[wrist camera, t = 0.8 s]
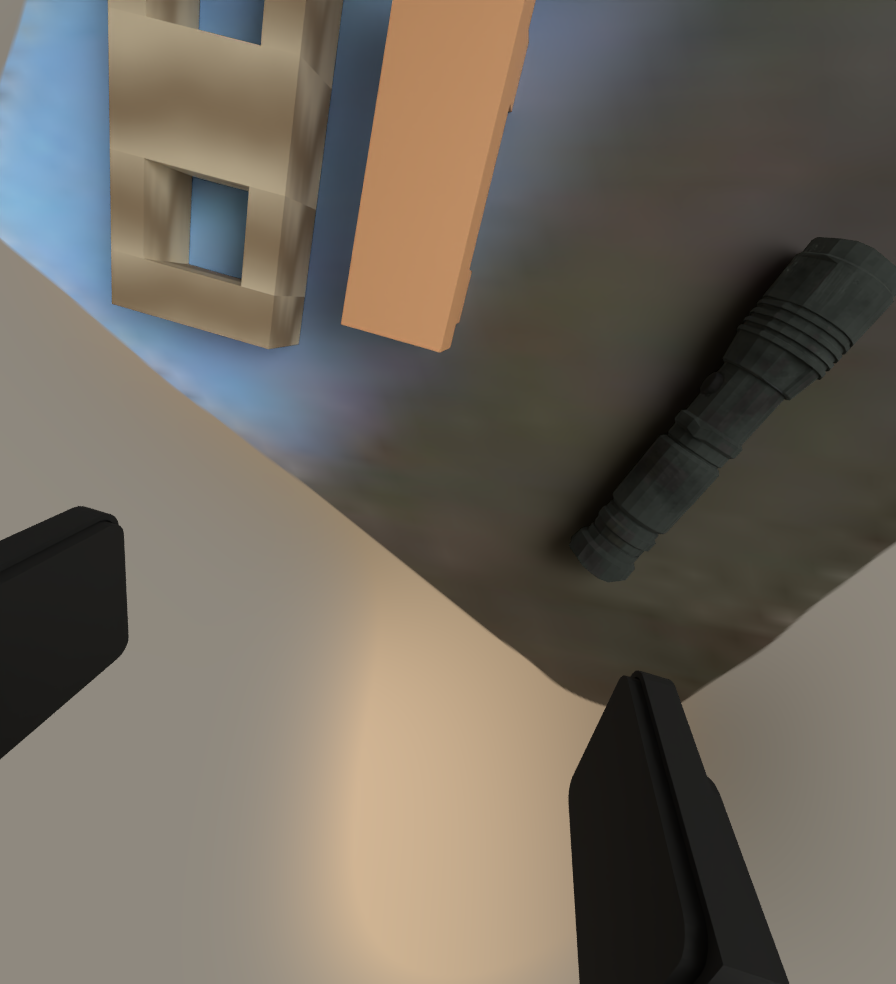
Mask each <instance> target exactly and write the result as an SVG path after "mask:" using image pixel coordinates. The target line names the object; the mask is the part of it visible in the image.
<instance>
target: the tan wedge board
mask: <svg viewBox="0 0 896 984" xmlns="http://www.w3.org/2000/svg"><path fill="white" fill-rule="evenodd" d="M535 1H536V0H393V1H392V7H391V14H390V20H389V26H388V32H387V39H386V45H385V51H384V57H383V64H382V70H381V76H380V83H379V89H378V95H377V101H376V108H375V114H374V120H373V126H372V133H371V139H370V145H369V151H368V158H367V164H366V170H365V176H364V183H363V189H362V195H361V202H360V208H359V214H358V220H357V227H356V233H355V239H354V245H353V252H352V258H351V264H350V270H349V277H348V283H347V289H346V295H345V302H344V308H343V314H342V321H341V324H342V325H345V326H349V327H352V328H356V329H359V330H363V331H366V332H370V333H373V334H377V335H381V336H384V337H388V338H391V339H395V340H398V341H402V342H405V343H409V344H412V345H416V346H419V347H423V348H426V349H430V350H433V351H437V352H442V351H444V350H446V349H448V348H450V346H451V342H452V338H453V334H454V329H455V325H456V323H459V321H460V317H461V313H462V309H463V305H464V301H465V297H466V293H467V289H468V285H469V281H470V277H471V273H472V271H470V270H469V269H470V265H471V260H472V256H473V252H474V248H475V244H476V240H477V236H478V232H479V228H480V224H481V220H482V216H483V212H484V208H485V204H486V200H487V196H488V191H489V187H490V183H491V179H492V175H493V171H494V167H495V163H496V159H497V155H498V151H499V147H500V143H501V139H502V135H503V131H504V127H505V122H506V118H507V114H508V111H509V112H512V108H513V104H514V100H515V95H516V91H517V87H518V83H519V79H520V75H521V71H522V67H523V63H524V59H525V55H526V51H527V47H528V43H529V33H528V29H529V25H530V21H531V17H532V13H533V9H534V5H535Z"/></svg>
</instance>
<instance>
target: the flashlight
mask: <svg viewBox="0 0 896 984" xmlns="http://www.w3.org/2000/svg"><path fill="white" fill-rule="evenodd" d="M895 295H896V266H895V265H893V264H892V263H891V262H890V261H889V260H887V259H886V258H885V257H884V256H883V255H881V254H880V253H879V252H878V251H877V250H875V249H874V248H872V247H870V246H867V245H865V244H863V243H861V242H858V241H853V240H846V239H839V238H823V237H817V238H815V239H813V240H812V241H811V242H810V243H809V244H808V246H807V247H806V248H805V249H804V251H803V252H801V253H799V254H797V255H796V256H795V257H794V259H793V260H792V261H791V262H790V263H789V265H788V266H787V267H786V268H785V270H784V271H783V272H782V273H781V274H780V276H779V277H778V278H777V279H776V281H775V282H774V283H773V284H772V285H771V287H770V288H769V289H768V290H767V292H766V293H765V294H764V295H763V296H762V299H760V300H759V301H758V302H757V307H755V308H753V309H752V310H751V311H750V316H747V317H746V318H745V319H744V320H743V324H742V325H739V326H738V328H737V329H736V330H737V334H736V336H735V337H734V339H733V341H732V343H731V344H730V346H729V348H728V350H727V351H726V353H725V355H724V357H723V361H724V362H725V363H724V364H723V366H722V367H721V368H720V369H719V370H718V372H714V373H712V374H710V375H709V376H708V377H707V378H706V379H705V380H704V382H703V383H702V385H701V387H700V391H701V392H700V393H699V395H698V396H697V397H696V398H695V399H694V401H693V402H692V403H691V404H690V405H689V407H688V408H687V409H684V410H681V411H680V412H679V413H678V414H677V416H676V417H675V424H674V425H673V426H672V427H671V428H670V430H669V431H668V433H669V434H668V435H667V434H664V435H660V436H659V437H658V438H657V439H656V441H655V442H654V443H653V444H652V446H651V447H650V448H649V449H648V450H647V452H646V453H645V454H644V455H643V457H642V458H641V459H640V460H639V461H638V463H637V464H636V465H635V466H634V467H633V469H632V470H631V471H630V472H629V474H628V475H627V476H626V477H625V478H624V480H623V481H622V482H621V483H620V485H619V486H618V487H617V488H616V489H615V491H614V492H613V499H614V500H611V501H610V502H609V503H608V505H605V506H603V507H602V509H601V510H600V511H599V513H598V514H599V515H598V517H597V518H596V519H595V521H594V522H593V523H592V524H591V525H590V526H589V527H583V528H581V529H580V530H579V531H578V532H577V533H575V534H574V535H573V536H572V537H571V542H570V544H569V547H570V548H571V549H572V551H573V552H574V554H575V555H576V556H577V558H578V559H579V561H580V563H581V564H582V566H584V567H585V568H586V569H587V570H588V571H589V572H590V573H592V574H593V575H595V576H596V577H597V578H599V579H601V580H604V581H606V582H614V581H622V580H626V579H627V578H628V576H629V575H630V574H631V573H632V572H633V570H634V569H635V568H634V562H635V561H636V559H637V558H638V557H639V556H640V555H641V554H642V553H643V552H644V551H649V550H650V549H651V548H652V547H653V546H654V544H655V539H656V538H657V537H658V534H664V533H666V532H667V531H668V530H669V529H670V528H671V527H672V526H673V525H674V524H675V523H676V522H677V520H678V519H679V518H680V517H681V516H682V515H683V514H684V513H685V512H686V511H687V510H688V509H689V508H690V507H691V506H692V505H693V504H694V503H695V501H696V500H697V499H698V498H699V497H700V496H701V495H702V494H703V493H704V492H705V490H706V489H707V488H708V487H709V486H710V485H711V484H712V483H713V482H714V481H715V479H716V478H717V477H718V476H719V471H718V469H717V468H721V467H722V466H723V465H724V464H725V463H726V462H727V461H728V460H729V459H734V458H735V457H736V456H737V455H738V454H739V453H740V452H741V451H742V447H741V445H742V444H743V443H744V442H745V441H746V440H747V439H748V438H749V437H750V436H751V435H752V433H753V432H754V431H755V430H756V429H757V428H758V427H759V426H760V425H761V424H762V423H763V422H764V420H765V419H766V418H767V417H768V416H769V415H770V414H771V413H772V412H773V411H774V410H775V409H776V407H777V406H778V405H779V404H780V403H781V402H782V401H783V400H784V399H785V400H791V399H792V398H793V397H795V396H796V395H797V394H798V393H800V392H801V391H802V390H804V389H805V388H806V387H807V386H809V385H810V384H811V383H813V382H814V381H815V380H816V379H819V380H821V378H822V377H823V376H824V375H825V374H826V373H825V371H829V370H830V369H831V368H832V367H833V366H834V364H833V363H837V362H838V361H839V360H840V359H841V358H842V355H841V354H846V352H847V351H848V350H849V349H850V348H851V347H852V346H853V345H854V344H855V343H856V342H857V340H858V339H859V338H860V337H861V336H862V335H863V334H864V333H865V332H866V331H867V330H868V329H869V328H870V327H871V325H872V324H873V323H874V322H875V321H876V320H877V319H878V318H879V317H880V316H881V315H882V314H883V313H884V312H885V310H886V309H887V308H888V307H889V306H890V305H891V304H892V303H893V298H894V297H895Z"/></svg>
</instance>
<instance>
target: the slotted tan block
mask: <svg viewBox="0 0 896 984" xmlns="http://www.w3.org/2000/svg"><path fill="white" fill-rule="evenodd" d="M342 6H343V0H265V1H264V13H263V25H262V37H261V45H257V44H253V43H249V42H245V41H241V40H237V39H233V38H229V37H225V36H222V35H218V34H214V33H210V32H206V31H202V30H199V9H200V0H108V41H109V118H110V195H111V272H112V304H114V305H118V306H121V307H125V308H128V309H132V310H135V311H139V312H142V313H146V314H149V315H152V316H156V317H159V318H163V319H166V320H170V321H173V322H177V323H180V324H183V325H187V326H190V327H194V328H197V329H201V330H204V331H208V332H211V333H215V334H218V335H221V336H225V337H228V338H232V339H235V340H239V341H242V342H246V343H249V344H253V345H256V346H259V347H263V348H266V349H272V348H279V347H285V346H291V345H297V344H299V338H300V330H301V322H302V314H303V307H304V299H305V291H306V284H307V276H308V268H309V260H310V253H311V245H312V237H313V230H314V222H315V214H316V207H317V199H318V191H319V183H320V176H321V168H322V160H323V153H324V145H325V137H326V129H327V122H328V114H329V106H330V99H331V91H332V83H333V75H334V68H335V60H336V52H337V45H338V37H339V29H340V21H341V14H342ZM192 176H193V177H196V178H200V179H204V180H207V181H211V182H215V183H219V184H222V185H226V186H230V187H233V188H237V189H241V190H244V191H248V192H249V196H248V208H247V220H246V232H245V245H244V257H243V269H242V279H239V278H236V277H232V276H229V275H225V274H222V273H218V272H215V271H211V270H207V269H204V268H200V267H197V266H193V265H190V264H189V243H190V219H191V196H192Z"/></svg>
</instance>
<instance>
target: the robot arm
mask: <svg viewBox="0 0 896 984" xmlns="http://www.w3.org/2000/svg"><path fill="white" fill-rule="evenodd" d="M127 643H128V616H127V595H126V572H125V551H124V533H123V529H122V528H121V526H119V525H118V521H117V519H116V518H115V517H114V516H113V515H111V514H108V513H104V512H101V511H97V510H94V509H91V508H87V507H83V506H82V507H81V506H78V507H74V508H72V509H69V510H67V511H65V512H63V513H60V514H59V515H56V516H54V517H52V518H49V519H47V520H45V521H43V522H41V523H38V524H36V525H34V526H32V527H29V528H27V529H25V530H23V531H21V532H18V533H16V534H14V535H12V536H10V537H7V538H5V539H3V540H1V541H0V759H1V758H2V757H3V756H4V755H6V754H7V753H8V752H9V751H10V750H12V749H13V748H14V747H15V746H16V745H17V744H18V743H20V742H21V741H22V740H23V739H24V738H25V737H27V736H28V735H29V734H30V733H31V732H33V731H34V730H35V729H36V728H37V727H38V726H39V725H41V724H42V723H43V722H44V721H45V720H46V719H48V718H49V717H50V716H51V715H52V714H53V713H55V712H56V711H57V710H58V709H59V708H60V707H62V706H63V705H64V704H65V703H66V702H67V701H68V700H70V699H71V698H72V697H73V696H74V695H75V694H77V693H78V692H79V691H80V690H81V689H82V688H84V687H85V686H86V685H87V684H88V683H90V682H91V681H92V680H93V679H94V678H95V677H96V676H98V675H99V674H100V673H101V672H102V671H104V670H105V668H107V667H108V666H109V665H110V664H112V663H113V662H114V661H115V660H116V659H117V658H118V657H119V656H120V655H121V654H122V653H123V651H124V650H125V648H126V645H127ZM569 817H570V834H571V849H572V867H573V883H574V899H575V914H576V931H577V947H578V963H579V980H580V984H789V981H788V979H787V976H786V973H785V970H784V968H783V965H782V963H781V960H780V957H779V954H778V951H777V949H776V946H775V943H774V940H773V938H772V935H771V932H770V930H769V927H768V924H767V921H766V919H765V916H764V913H763V911H762V908H761V905H760V902H759V900H758V897H757V894H756V892H755V889H754V886H753V883H752V881H751V878H750V875H749V873H748V870H747V867H746V864H745V861H744V859H743V856H742V853H741V851H740V848H739V845H738V842H737V840H736V837H735V834H734V832H733V829H732V826H731V823H730V821H729V818H728V815H727V813H726V810H725V807H724V804H723V802H722V799H721V796H720V794H719V792H718V790H717V788H716V786H715V784H714V783H713V782H712V780H711V779H710V778H708V777H707V775H706V772H705V770H704V767H703V764H702V761H701V758H700V755H699V753H698V750H697V747H696V744H695V742H694V739H693V735H692V733H691V730H690V727H689V724H688V721H687V719H686V716H685V713H684V710H683V708H682V704H681V702H680V699H679V696H678V693H677V690H676V687H675V685H674V683H673V682H672V681H671V680H669V679H665V678H662V677H659V676H655V675H652V674H649V673H645V672H642V671H635V672H634V673H633V674H632V675H631V677H628V676H622V677H621V678H620V679H619V681H618V683H617V685H616V687H615V689H614V691H613V694H612V696H611V698H610V700H609V702H608V704H607V706H606V708H605V710H604V712H603V715H602V716H601V719H600V721H599V723H598V725H597V727H596V729H595V731H594V733H593V735H592V737H591V739H590V741H589V744H588V746H587V748H586V750H585V752H584V754H583V756H582V758H581V760H580V762H579V765H578V767H577V769H576V771H575V773H574V775H573V777H572V780H571V783H570V788H569Z"/></svg>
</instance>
